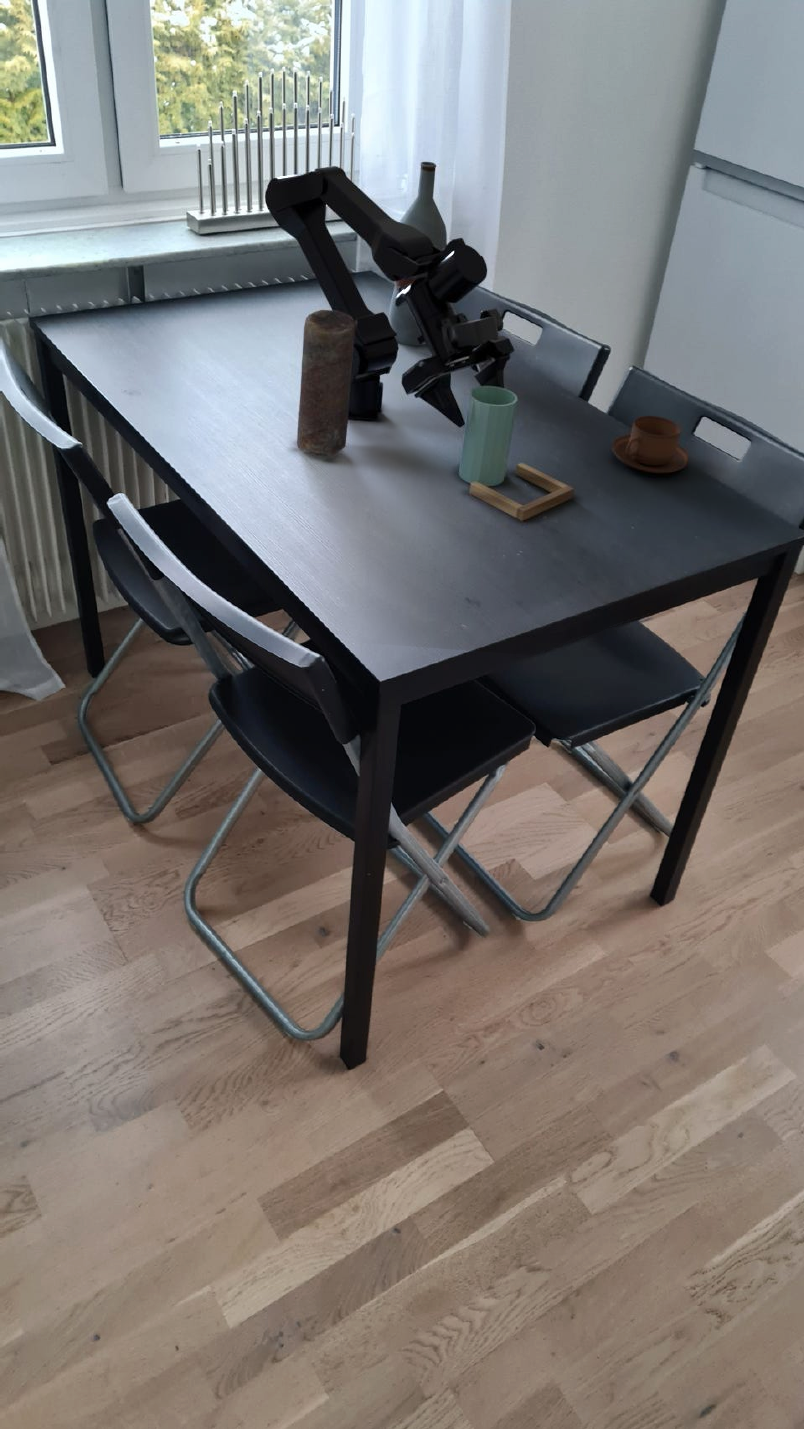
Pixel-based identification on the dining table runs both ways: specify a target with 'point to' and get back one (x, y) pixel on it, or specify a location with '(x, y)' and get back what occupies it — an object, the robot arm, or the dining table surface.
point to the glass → (487, 435)
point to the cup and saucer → (652, 446)
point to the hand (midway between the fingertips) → (483, 418)
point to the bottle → (432, 225)
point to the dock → (522, 512)
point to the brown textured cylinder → (325, 382)
